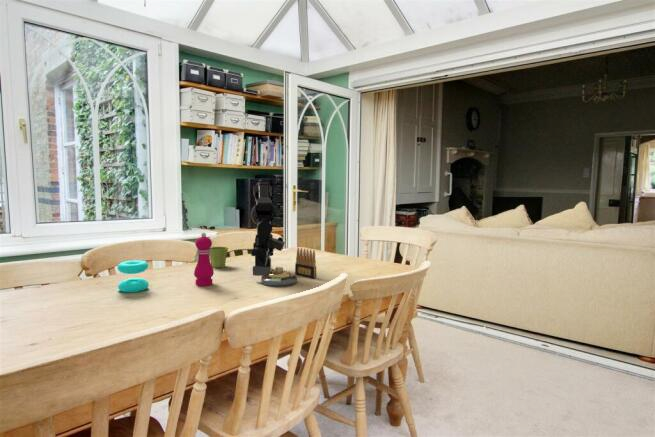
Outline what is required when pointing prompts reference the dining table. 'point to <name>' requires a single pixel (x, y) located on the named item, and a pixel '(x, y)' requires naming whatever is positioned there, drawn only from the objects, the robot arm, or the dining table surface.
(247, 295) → the dining table surface
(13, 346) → the dining table surface
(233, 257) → the dining table surface
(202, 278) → the pepper mill
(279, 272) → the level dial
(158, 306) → the dining table surface
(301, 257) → the ammunition clip
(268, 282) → the base
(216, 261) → the plant pot
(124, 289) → the donuts
